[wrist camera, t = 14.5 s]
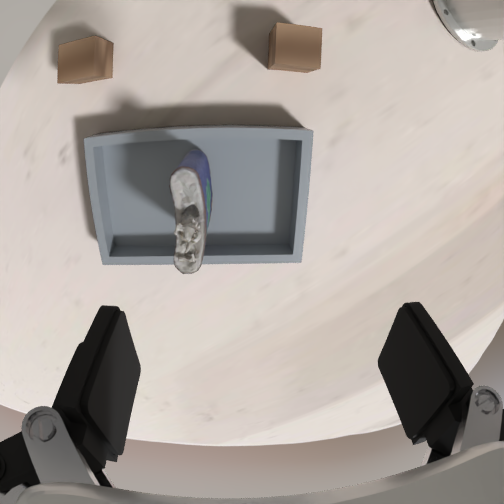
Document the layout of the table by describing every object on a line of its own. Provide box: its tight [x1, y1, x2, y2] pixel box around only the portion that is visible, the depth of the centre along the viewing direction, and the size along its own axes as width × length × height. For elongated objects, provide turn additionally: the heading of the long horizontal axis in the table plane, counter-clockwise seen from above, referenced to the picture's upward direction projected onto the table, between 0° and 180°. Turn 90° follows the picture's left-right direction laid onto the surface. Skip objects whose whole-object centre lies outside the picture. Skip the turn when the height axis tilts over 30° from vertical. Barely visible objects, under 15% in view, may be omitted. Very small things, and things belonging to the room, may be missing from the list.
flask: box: [169, 149, 213, 274], centre depth 26 cm, size 9×3×11 cm, turn 177°
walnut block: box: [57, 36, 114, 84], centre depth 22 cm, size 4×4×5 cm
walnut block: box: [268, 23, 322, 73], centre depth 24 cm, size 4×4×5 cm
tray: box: [84, 125, 313, 265], centre depth 31 cm, size 14×22×4 cm, turn 89°
